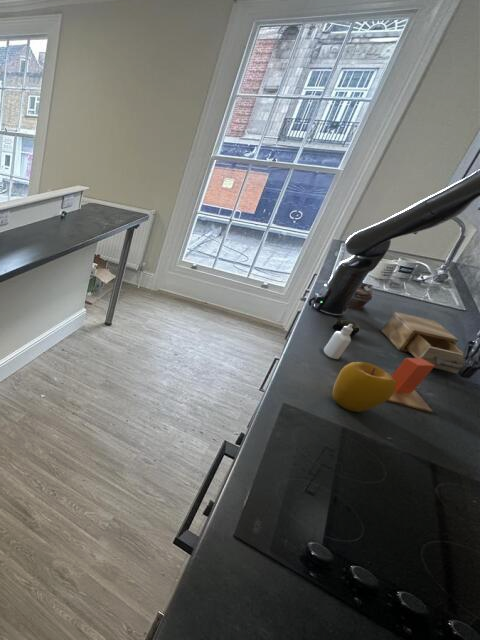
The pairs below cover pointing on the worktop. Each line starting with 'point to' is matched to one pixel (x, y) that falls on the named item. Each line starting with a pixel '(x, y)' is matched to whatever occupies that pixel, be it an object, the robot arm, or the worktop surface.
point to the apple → (362, 387)
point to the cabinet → (413, 330)
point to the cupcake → (361, 296)
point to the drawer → (436, 352)
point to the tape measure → (342, 323)
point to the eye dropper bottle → (338, 342)
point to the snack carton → (411, 374)
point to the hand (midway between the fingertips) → (462, 376)
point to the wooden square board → (410, 400)
